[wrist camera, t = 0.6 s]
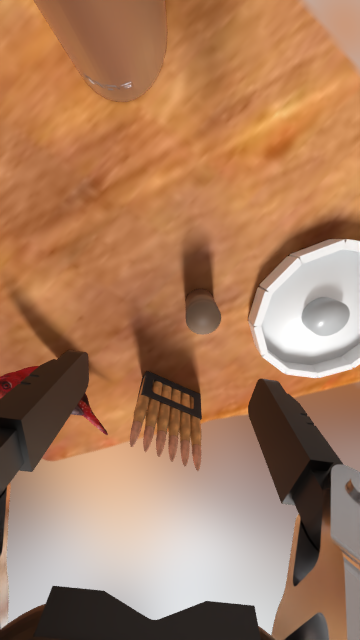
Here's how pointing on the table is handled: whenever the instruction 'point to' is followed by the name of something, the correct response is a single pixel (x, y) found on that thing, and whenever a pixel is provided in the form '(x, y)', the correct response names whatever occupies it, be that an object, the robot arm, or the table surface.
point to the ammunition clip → (168, 417)
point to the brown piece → (202, 312)
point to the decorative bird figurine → (10, 380)
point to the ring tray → (311, 311)
